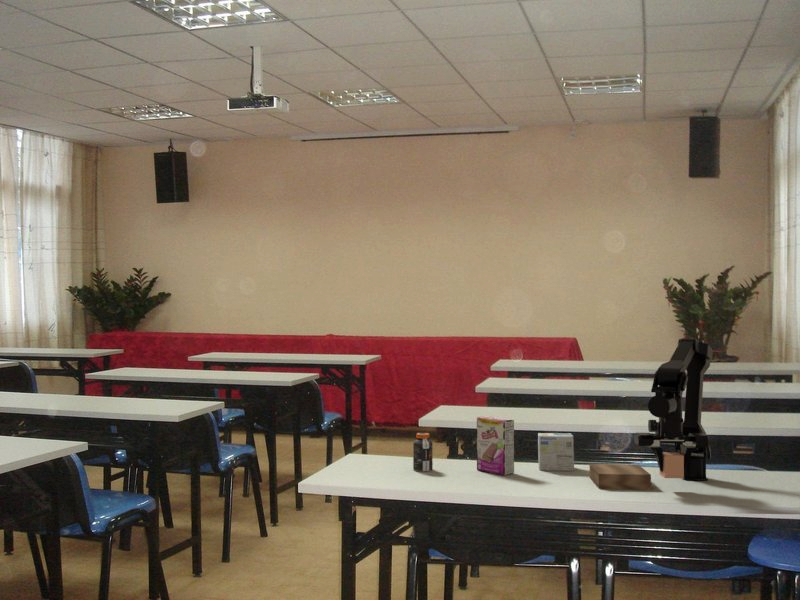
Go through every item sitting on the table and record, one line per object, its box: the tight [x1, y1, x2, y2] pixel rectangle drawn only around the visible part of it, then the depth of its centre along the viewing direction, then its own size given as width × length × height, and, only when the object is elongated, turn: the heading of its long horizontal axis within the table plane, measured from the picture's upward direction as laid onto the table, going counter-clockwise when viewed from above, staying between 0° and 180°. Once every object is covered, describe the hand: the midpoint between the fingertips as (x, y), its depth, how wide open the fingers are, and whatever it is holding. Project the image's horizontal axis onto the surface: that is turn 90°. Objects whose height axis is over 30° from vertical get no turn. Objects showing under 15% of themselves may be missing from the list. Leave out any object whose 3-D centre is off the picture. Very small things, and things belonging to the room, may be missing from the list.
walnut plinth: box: [589, 463, 652, 490], centre depth 219 cm, size 14×14×4 cm
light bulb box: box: [537, 432, 575, 472], centre depth 240 cm, size 11×7×11 cm, turn 84°
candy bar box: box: [476, 415, 515, 476], centre depth 235 cm, size 11×5×16 cm, turn 43°
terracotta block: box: [659, 451, 684, 479], centre depth 209 cm, size 5×5×6 cm
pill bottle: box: [412, 432, 434, 472], centre depth 238 cm, size 6×6×11 cm
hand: (671, 471), depth 209 cm, fingers closed on terracotta block, 5 cm apart
